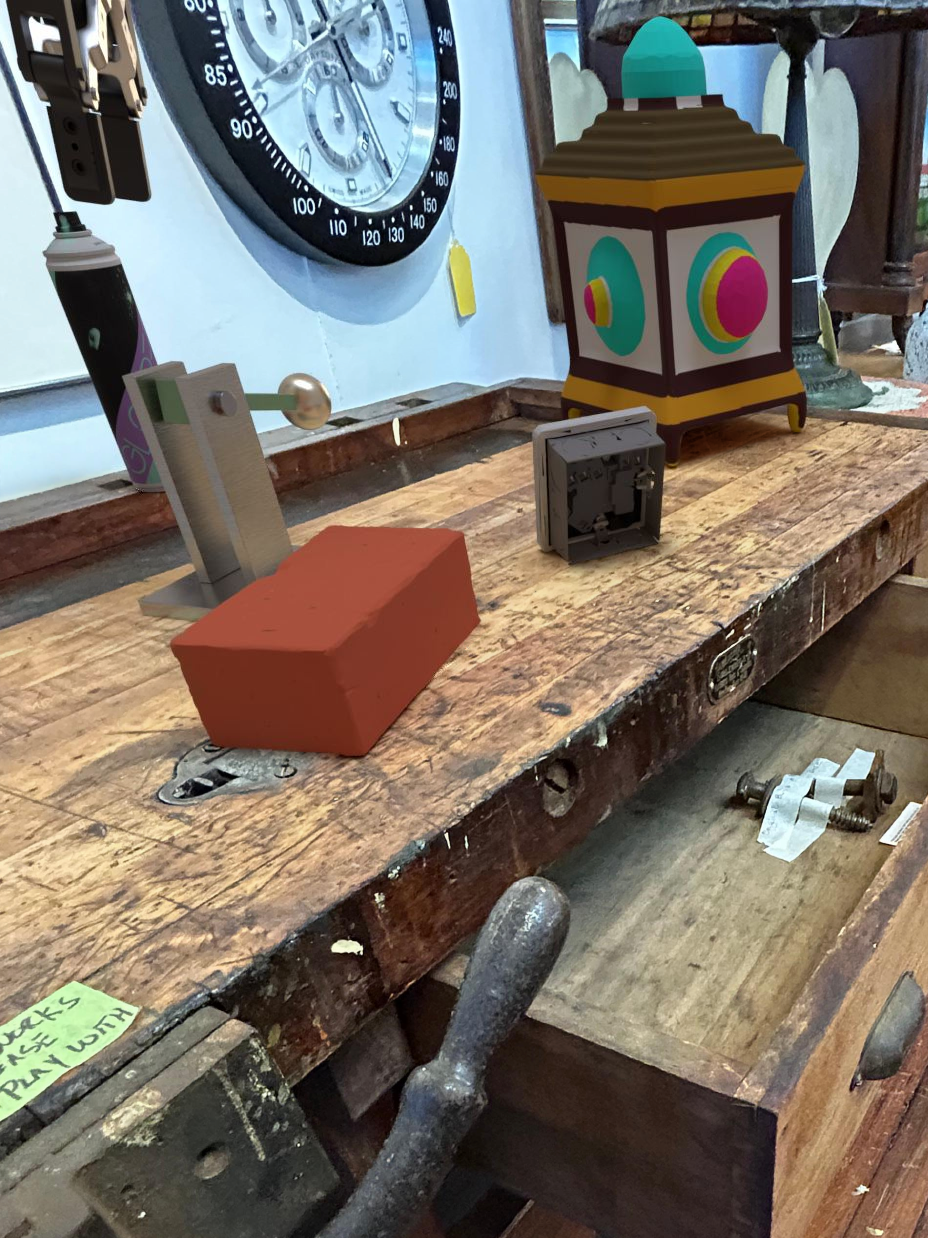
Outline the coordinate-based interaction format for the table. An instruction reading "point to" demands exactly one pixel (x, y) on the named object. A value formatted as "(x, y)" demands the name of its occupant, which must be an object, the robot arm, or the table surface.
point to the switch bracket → (211, 487)
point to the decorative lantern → (675, 250)
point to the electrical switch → (598, 483)
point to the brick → (331, 640)
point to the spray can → (104, 333)
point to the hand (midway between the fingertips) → (112, 201)
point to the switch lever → (264, 401)
